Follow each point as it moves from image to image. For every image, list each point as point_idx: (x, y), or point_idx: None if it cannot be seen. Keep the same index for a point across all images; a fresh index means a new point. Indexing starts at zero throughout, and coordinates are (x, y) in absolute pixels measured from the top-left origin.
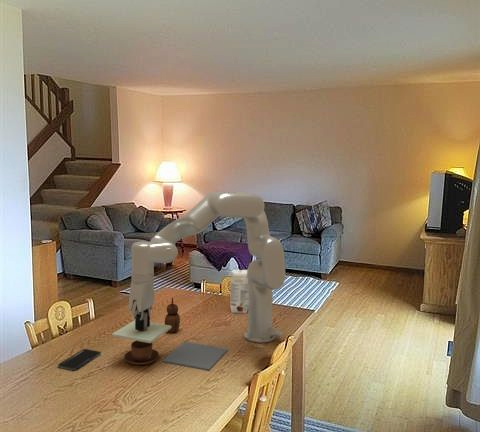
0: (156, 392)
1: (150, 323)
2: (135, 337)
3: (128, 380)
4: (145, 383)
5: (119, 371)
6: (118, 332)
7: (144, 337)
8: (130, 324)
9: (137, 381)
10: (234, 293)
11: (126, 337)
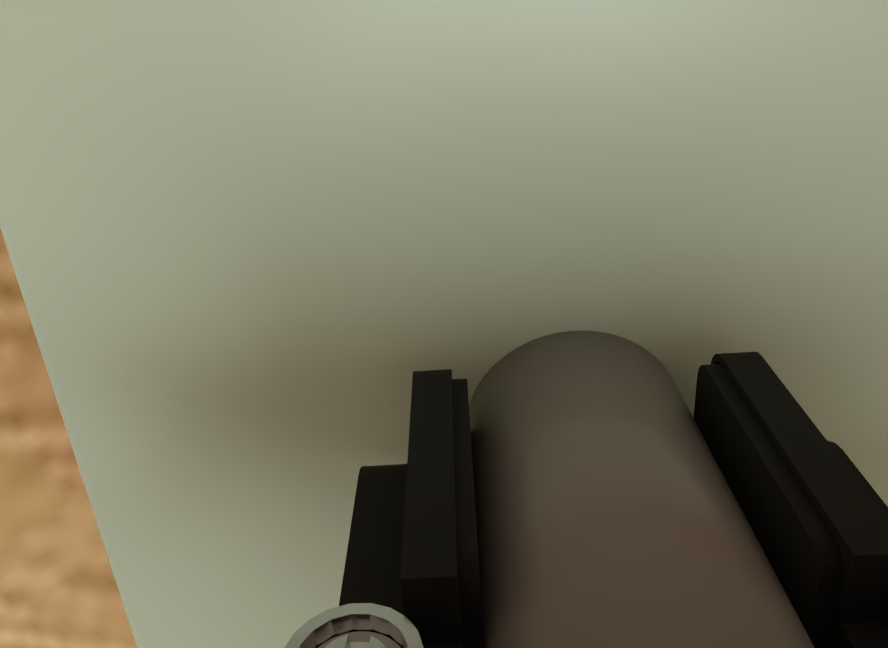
0: (27, 645)
1: None
2: (128, 528)
3: (19, 349)
4: (83, 509)
5: None
6: (96, 3)
7: (239, 646)
8: None
9: (63, 432)
10: None
11: (54, 339)
